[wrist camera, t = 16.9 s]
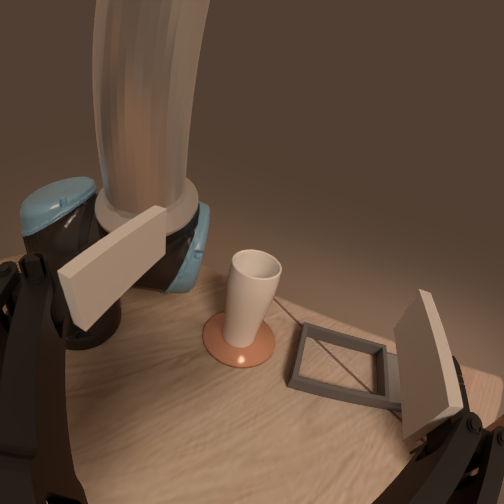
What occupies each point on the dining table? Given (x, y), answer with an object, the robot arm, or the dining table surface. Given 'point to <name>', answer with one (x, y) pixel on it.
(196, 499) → the dining table surface
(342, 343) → the open case
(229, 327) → the drinking glass
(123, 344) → the dining table surface
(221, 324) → the coaster
